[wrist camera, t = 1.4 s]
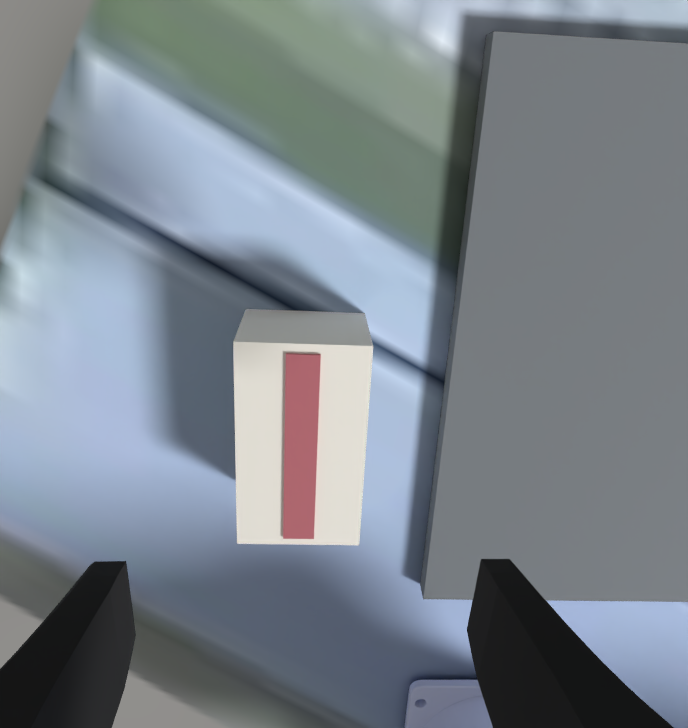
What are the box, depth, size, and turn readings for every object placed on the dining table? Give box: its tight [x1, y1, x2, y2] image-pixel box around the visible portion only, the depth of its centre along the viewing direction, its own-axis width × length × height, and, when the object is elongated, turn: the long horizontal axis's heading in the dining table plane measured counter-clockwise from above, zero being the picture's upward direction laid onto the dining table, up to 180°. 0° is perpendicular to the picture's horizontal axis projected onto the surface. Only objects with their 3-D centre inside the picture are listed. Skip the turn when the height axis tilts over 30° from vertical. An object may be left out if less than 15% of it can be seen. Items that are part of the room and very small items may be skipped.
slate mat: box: [420, 31, 688, 602], centre depth 21 cm, size 20×16×1 cm
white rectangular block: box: [233, 309, 373, 545], centre depth 20 cm, size 7×4×4 cm, turn 177°
